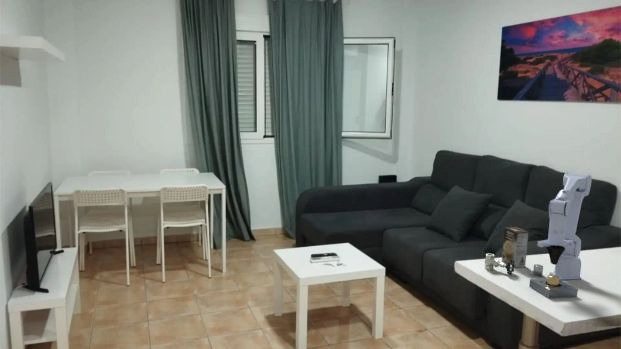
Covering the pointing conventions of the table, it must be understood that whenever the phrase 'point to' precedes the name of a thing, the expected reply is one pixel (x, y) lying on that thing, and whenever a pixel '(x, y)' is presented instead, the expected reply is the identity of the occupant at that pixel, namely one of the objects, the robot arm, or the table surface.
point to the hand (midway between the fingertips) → (553, 263)
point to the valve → (498, 264)
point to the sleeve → (538, 270)
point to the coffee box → (515, 246)
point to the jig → (553, 289)
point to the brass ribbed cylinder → (552, 280)
